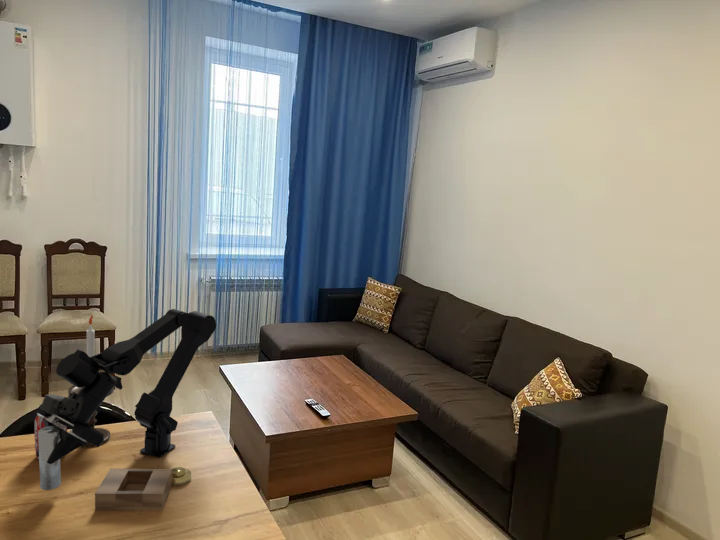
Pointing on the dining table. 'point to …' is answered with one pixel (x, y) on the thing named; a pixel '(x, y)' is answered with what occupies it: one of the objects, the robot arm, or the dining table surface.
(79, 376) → the robot arm
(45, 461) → the pin
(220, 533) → the dining table surface
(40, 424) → the soda can
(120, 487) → the slot block
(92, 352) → the candlestick
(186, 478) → the brass domed disc
